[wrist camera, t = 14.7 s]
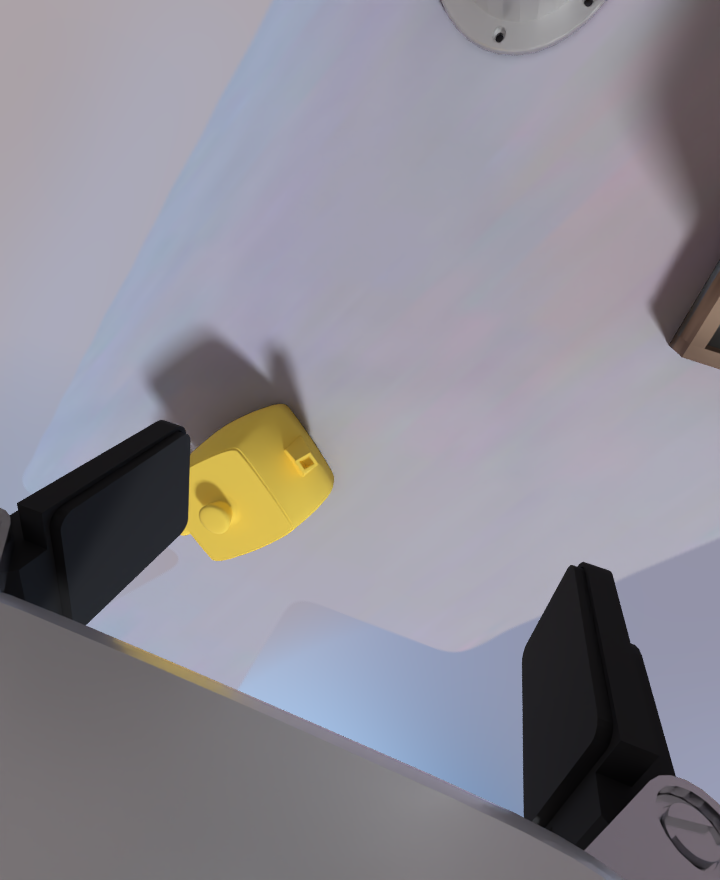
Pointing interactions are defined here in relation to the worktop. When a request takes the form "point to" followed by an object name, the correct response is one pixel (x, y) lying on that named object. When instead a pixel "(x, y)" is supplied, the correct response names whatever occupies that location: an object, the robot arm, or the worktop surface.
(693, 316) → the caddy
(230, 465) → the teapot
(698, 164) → the worktop surface
